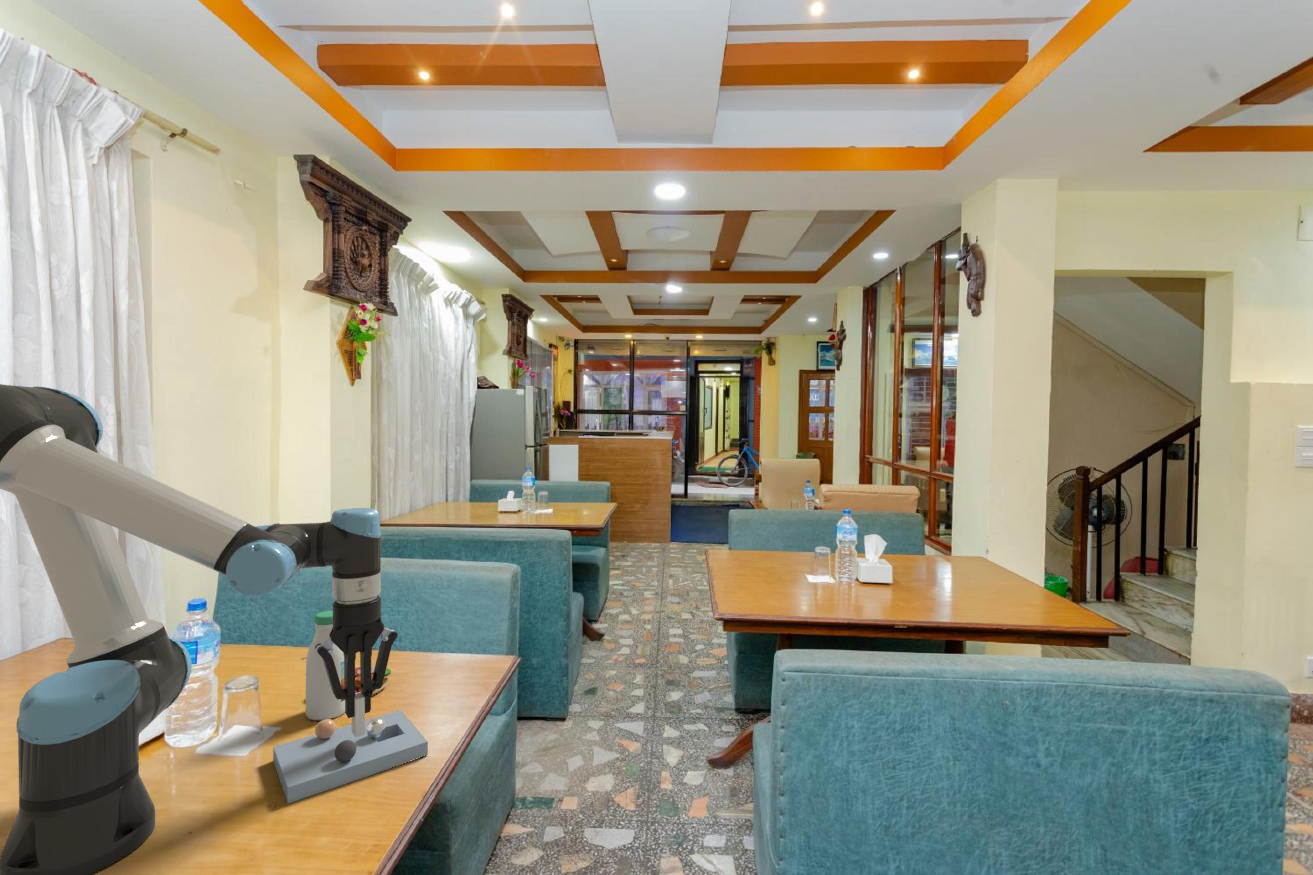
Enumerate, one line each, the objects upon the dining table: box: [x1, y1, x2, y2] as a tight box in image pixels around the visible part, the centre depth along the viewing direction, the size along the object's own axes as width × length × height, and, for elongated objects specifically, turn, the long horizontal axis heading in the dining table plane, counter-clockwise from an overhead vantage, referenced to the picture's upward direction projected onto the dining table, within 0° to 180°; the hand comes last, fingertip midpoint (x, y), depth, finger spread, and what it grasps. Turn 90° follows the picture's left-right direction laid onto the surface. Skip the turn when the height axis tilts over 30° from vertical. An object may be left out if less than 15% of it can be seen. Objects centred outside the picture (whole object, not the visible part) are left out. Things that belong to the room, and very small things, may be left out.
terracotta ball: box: [314, 718, 337, 739], centre depth 104 cm, size 3×3×3 cm
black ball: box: [335, 740, 356, 762], centre depth 97 cm, size 3×3×3 cm
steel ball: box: [366, 718, 386, 738], centre depth 105 cm, size 3×3×3 cm
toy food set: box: [355, 666, 392, 696], centre depth 130 cm, size 13×13×3 cm
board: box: [272, 709, 429, 805], centre depth 103 cm, size 21×15×2 cm
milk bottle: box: [305, 610, 346, 721], centre depth 119 cm, size 8×8×20 cm
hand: (358, 732), depth 103 cm, fingers closed
